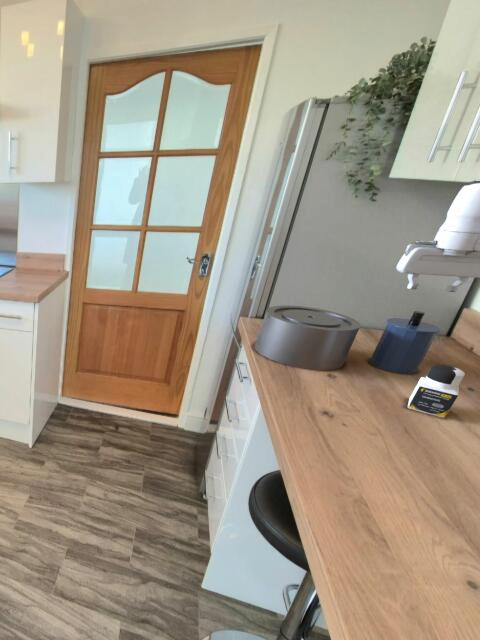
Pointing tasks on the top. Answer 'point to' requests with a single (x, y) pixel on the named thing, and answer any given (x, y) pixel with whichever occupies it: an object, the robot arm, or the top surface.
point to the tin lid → (414, 324)
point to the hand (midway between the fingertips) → (430, 290)
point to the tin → (401, 350)
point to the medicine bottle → (437, 390)
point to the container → (306, 337)
